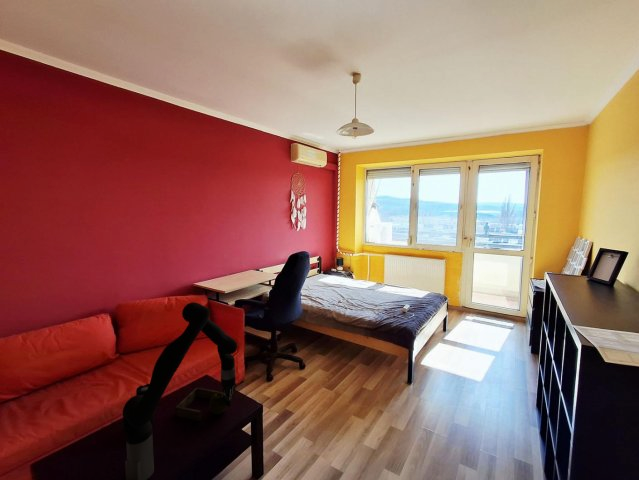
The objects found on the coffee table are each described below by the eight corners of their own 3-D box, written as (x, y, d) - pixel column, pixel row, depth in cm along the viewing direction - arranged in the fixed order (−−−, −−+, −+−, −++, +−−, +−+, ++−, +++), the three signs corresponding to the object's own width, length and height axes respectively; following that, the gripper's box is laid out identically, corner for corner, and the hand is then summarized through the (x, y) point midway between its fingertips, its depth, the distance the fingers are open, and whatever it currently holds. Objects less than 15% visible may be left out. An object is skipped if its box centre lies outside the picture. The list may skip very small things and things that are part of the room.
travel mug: (147, 431, 146) (145, 393, 144) (134, 428, 148) (132, 391, 145) (158, 420, 153) (156, 384, 151) (145, 418, 155) (144, 382, 153)
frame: (199, 420, 154) (199, 411, 153) (175, 416, 157) (175, 407, 156) (218, 399, 171) (218, 391, 171) (196, 395, 174) (196, 387, 174)
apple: (225, 417, 157) (225, 398, 155) (207, 418, 156) (206, 398, 155) (230, 404, 167) (229, 386, 165) (212, 405, 166) (211, 387, 165)
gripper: (227, 383, 150) (228, 414, 152) (240, 369, 163) (241, 398, 165) (214, 381, 152) (215, 412, 154) (228, 367, 165) (229, 396, 167)
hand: (228, 405), depth 160 cm, fingers closed
